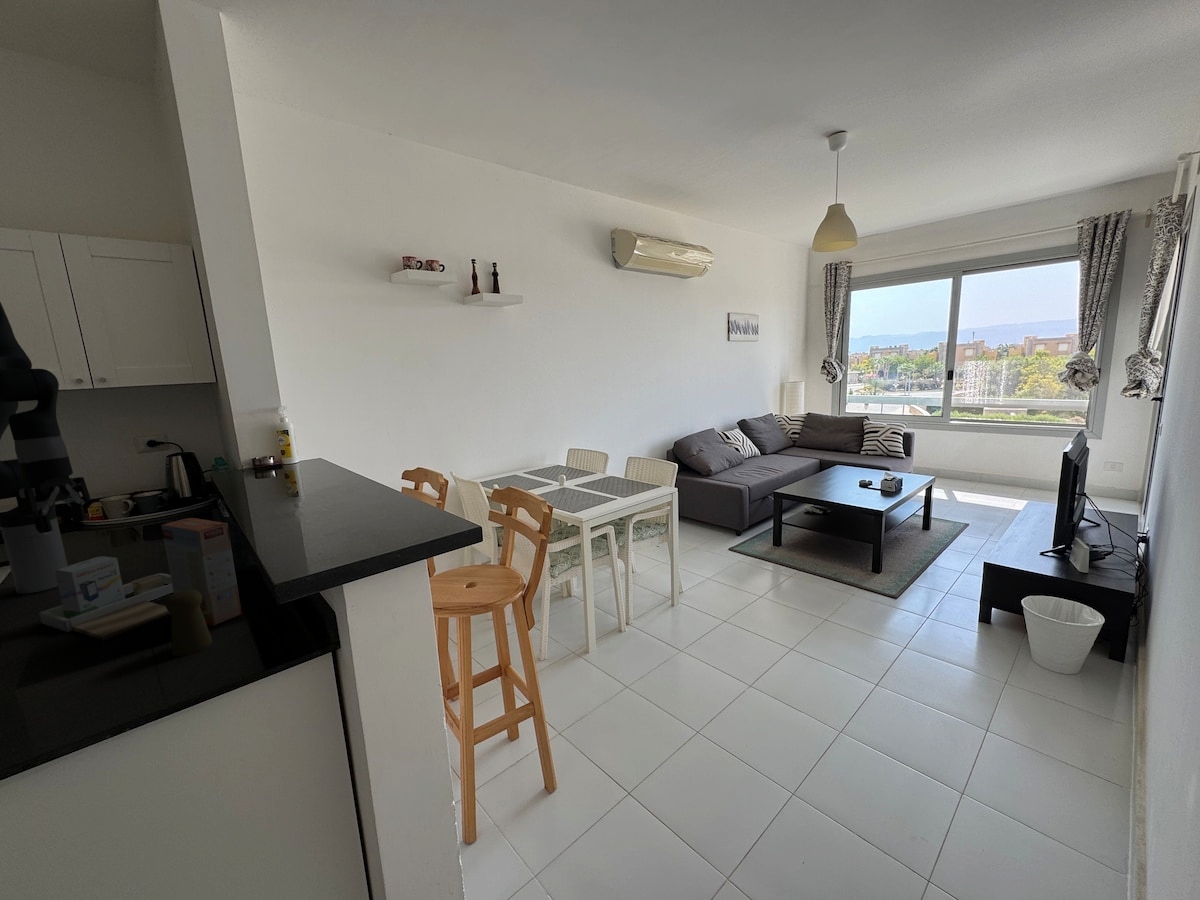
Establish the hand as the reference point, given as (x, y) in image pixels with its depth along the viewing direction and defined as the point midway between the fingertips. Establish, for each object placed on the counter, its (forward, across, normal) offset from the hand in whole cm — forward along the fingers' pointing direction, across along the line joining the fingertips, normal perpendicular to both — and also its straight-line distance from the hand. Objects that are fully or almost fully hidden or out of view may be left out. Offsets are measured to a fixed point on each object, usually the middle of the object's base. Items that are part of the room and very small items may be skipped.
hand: (63, 526), depth 111 cm
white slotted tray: (+19, +4, +10) cm, 22 cm away
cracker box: (+21, +15, +35) cm, 44 cm away
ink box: (+19, +8, +8) cm, 22 cm away
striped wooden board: (+20, +14, +18) cm, 30 cm away
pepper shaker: (+22, +29, +40) cm, 54 cm away
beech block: (+20, 0, +13) cm, 24 cm away
